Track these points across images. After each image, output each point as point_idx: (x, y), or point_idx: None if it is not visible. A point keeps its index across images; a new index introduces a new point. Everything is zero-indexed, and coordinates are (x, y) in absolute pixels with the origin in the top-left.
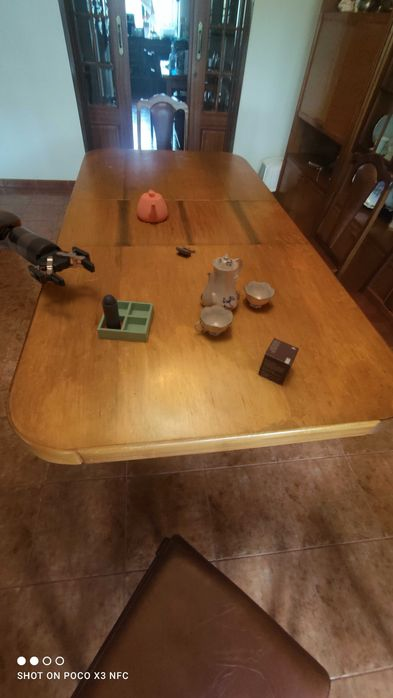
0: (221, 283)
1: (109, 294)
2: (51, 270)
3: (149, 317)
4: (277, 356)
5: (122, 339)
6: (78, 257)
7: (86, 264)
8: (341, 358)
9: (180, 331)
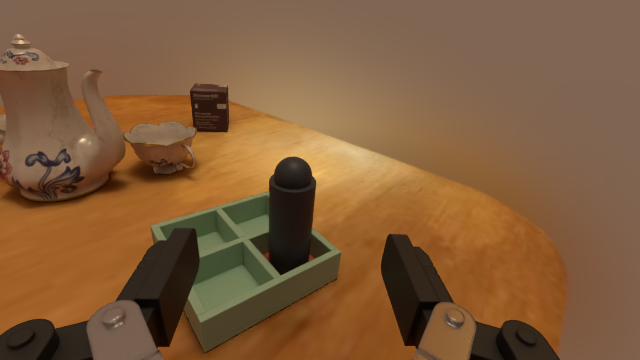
0: (73, 105)
1: (284, 163)
2: (432, 328)
3: (215, 207)
4: (222, 88)
5: None
6: (129, 343)
7: (178, 271)
8: (152, 106)
9: (198, 194)
